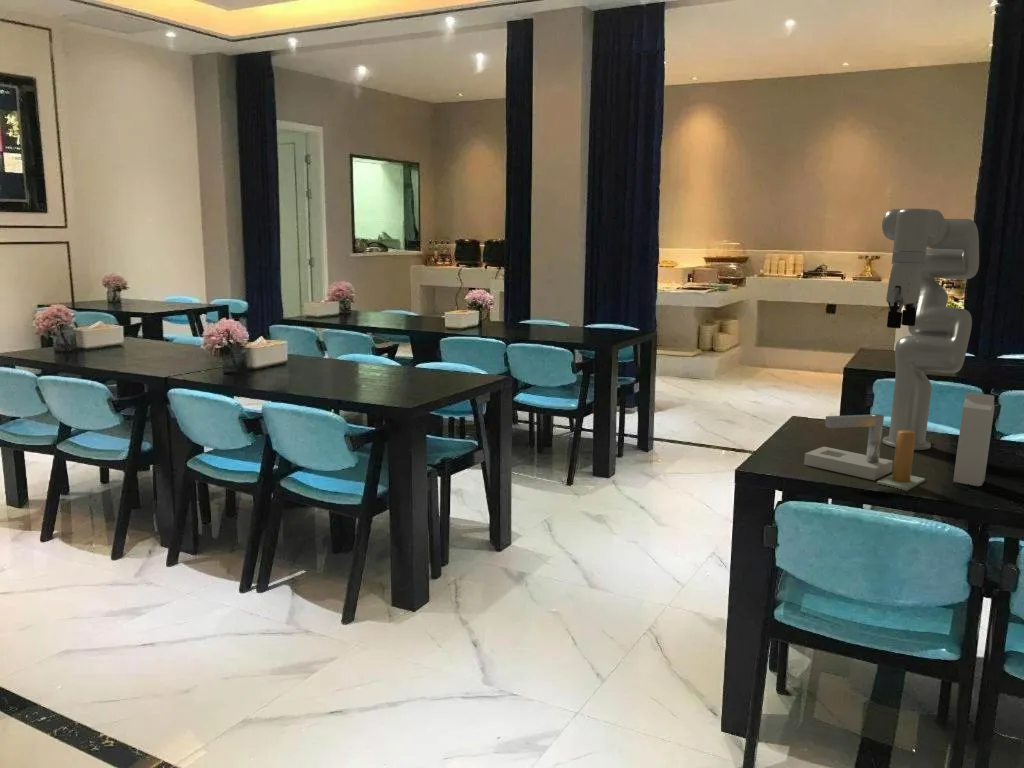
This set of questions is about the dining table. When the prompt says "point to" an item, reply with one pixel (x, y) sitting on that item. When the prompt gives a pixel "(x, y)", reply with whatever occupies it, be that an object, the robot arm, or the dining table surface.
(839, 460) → the gray rectangular base
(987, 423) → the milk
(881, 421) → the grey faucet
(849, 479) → the dining table surface
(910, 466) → the tan rectangular bar
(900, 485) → the mat
